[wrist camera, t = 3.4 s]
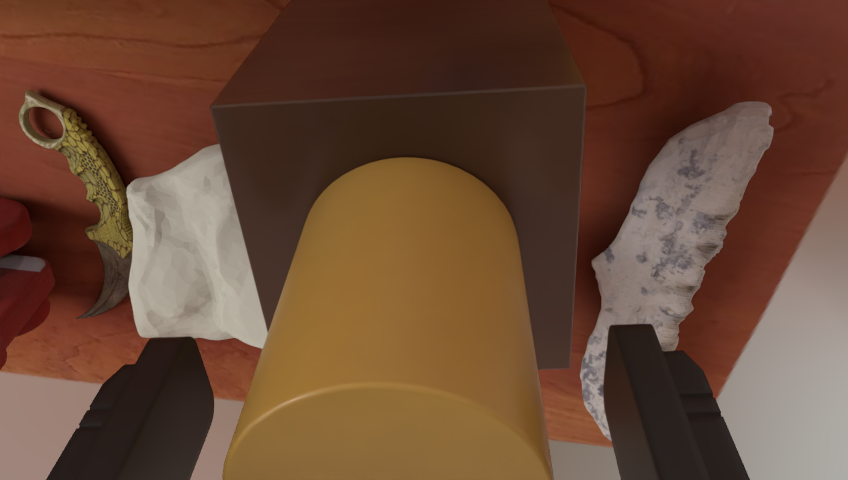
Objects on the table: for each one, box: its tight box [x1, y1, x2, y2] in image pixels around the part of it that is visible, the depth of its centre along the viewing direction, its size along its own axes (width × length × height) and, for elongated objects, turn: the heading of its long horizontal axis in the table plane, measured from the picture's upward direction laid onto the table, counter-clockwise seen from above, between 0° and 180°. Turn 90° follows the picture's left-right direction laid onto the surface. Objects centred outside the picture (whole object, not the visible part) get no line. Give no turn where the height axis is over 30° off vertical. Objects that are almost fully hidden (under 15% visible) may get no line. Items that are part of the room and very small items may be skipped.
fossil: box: [580, 101, 774, 441], centre depth 36 cm, size 21×6×5 cm, turn 173°
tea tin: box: [223, 157, 554, 480], centre depth 14 cm, size 5×5×7 cm
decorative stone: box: [126, 144, 268, 349], centre depth 35 cm, size 11×9×10 cm
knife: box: [19, 90, 133, 319], centre depth 37 cm, size 14×1×5 cm
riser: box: [210, 0, 587, 370], centre depth 24 cm, size 8×8×18 cm
